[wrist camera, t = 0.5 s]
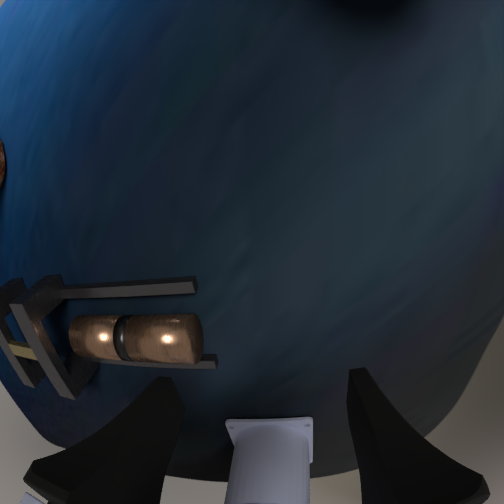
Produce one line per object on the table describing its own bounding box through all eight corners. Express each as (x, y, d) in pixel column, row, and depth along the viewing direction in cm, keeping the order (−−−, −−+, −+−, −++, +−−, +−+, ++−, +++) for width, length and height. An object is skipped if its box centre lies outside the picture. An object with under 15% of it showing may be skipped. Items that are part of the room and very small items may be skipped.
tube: (194, 303, 19) (180, 335, 16) (206, 341, 21) (195, 374, 18) (84, 306, 21) (62, 331, 18) (99, 339, 22) (82, 364, 19)
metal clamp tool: (221, 371, 22) (208, 419, 17) (48, 356, 25) (24, 384, 20) (191, 261, 18) (164, 302, 14) (11, 278, 21) (-21, 302, 17)
